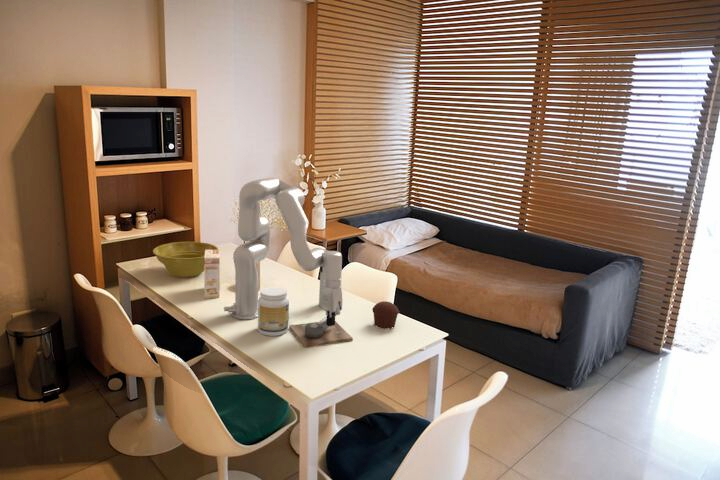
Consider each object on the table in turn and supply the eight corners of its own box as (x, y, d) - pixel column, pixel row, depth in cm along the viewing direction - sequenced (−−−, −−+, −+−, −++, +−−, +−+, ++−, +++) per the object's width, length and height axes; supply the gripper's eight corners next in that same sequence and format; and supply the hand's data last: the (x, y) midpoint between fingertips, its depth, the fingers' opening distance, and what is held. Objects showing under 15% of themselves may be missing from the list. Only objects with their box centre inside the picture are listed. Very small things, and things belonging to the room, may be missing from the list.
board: (304, 347, 200) (304, 344, 200) (289, 328, 216) (289, 325, 216) (352, 340, 208) (352, 337, 208) (334, 322, 225) (334, 319, 225)
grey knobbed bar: (317, 340, 203) (317, 329, 202) (301, 336, 206) (301, 325, 205) (336, 325, 218) (336, 315, 217) (321, 322, 221) (321, 312, 220)
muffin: (365, 324, 226) (367, 302, 223) (381, 317, 234) (383, 296, 232) (387, 332, 218) (389, 310, 216) (403, 325, 227) (405, 303, 224)
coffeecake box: (219, 298, 245) (219, 257, 240) (203, 298, 243) (203, 257, 239) (220, 287, 259) (220, 249, 254) (205, 287, 257) (204, 249, 253)
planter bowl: (181, 288, 254) (180, 261, 251) (140, 274, 271) (139, 248, 268) (231, 273, 281) (231, 249, 278) (190, 261, 298) (190, 238, 294)
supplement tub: (292, 334, 211) (294, 294, 207) (263, 339, 205) (264, 298, 201) (281, 323, 221) (282, 284, 217) (253, 327, 215) (254, 288, 211)
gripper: (313, 278, 213) (312, 321, 218) (335, 288, 202) (334, 333, 206) (328, 275, 218) (327, 317, 222) (350, 285, 207) (349, 329, 211)
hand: (330, 325), depth 214 cm, fingers closed
